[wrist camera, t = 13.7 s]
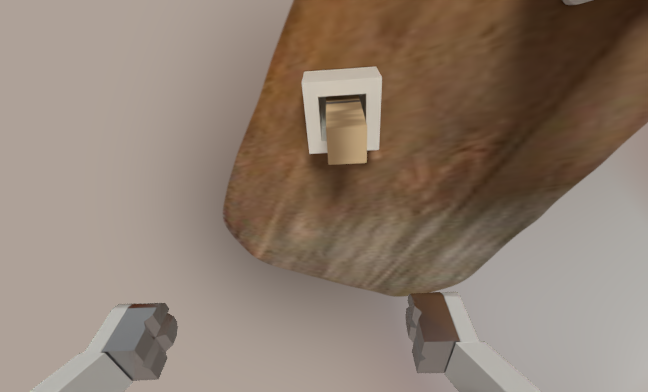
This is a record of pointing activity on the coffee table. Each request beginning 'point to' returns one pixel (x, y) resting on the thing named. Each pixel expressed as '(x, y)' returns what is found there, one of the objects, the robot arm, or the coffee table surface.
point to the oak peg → (345, 130)
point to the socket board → (336, 84)
